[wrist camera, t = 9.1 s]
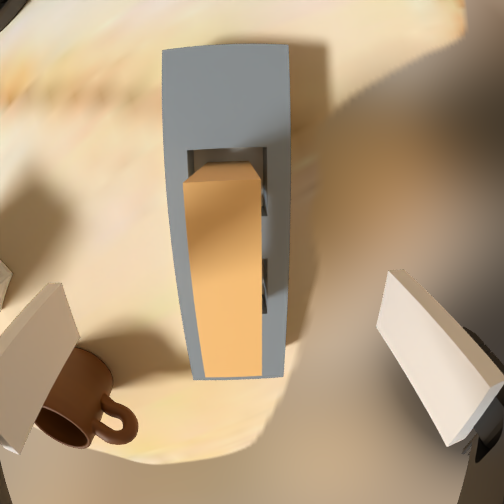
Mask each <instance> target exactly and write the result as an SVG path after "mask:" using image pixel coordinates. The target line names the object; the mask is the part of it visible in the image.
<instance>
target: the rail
mask: <svg viewBox="0 0 504 504" xmlns="http://www.w3.org/2000/svg"><path fill="white" fill-rule="evenodd" d="M162 119H163V145H164V163H165V178H166V191H167V203H168V214H169V224H170V234H171V243H172V251H173V260H174V267H175V275H176V282H177V289H178V296H179V303H180V309H181V315H182V321H183V327H184V333H185V339H186V344H187V350H188V355H189V360H190V365H191V370H192V375H193V380H238V379H260V378H275V377H283V374H284V359H285V342H286V324H287V303H288V279H289V249H290V200H291V121H290V75H289V47H288V45H282V44H222V45H205V46H194V47H184V48H175V49H167V50H162ZM224 161H249V162H250V163H251V165H252V166H253V168H254V169H255V171H256V173H257V174H258V176H259V177H260V179H261V232H262V376H247V377H205V372H204V366H203V360H202V353H201V347H200V340H199V334H198V327H197V319H196V312H195V304H194V296H193V288H192V280H191V271H190V262H189V252H188V242H187V231H186V220H185V207H184V194H183V182H184V181H186V180H187V179H188V178H189V177H190V176H192V175H193V174H194V173H195V172H196V171H198V170H199V169H200V168H201V167H202V166H204V165H205V164H206V163H207V162H224Z"/></svg>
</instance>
